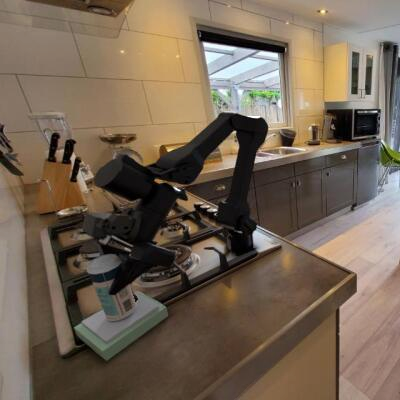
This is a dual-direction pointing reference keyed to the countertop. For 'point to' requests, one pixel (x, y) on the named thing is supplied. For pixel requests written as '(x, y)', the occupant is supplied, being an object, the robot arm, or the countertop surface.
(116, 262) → the white canister
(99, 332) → the kitchen scale
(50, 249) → the countertop surface
